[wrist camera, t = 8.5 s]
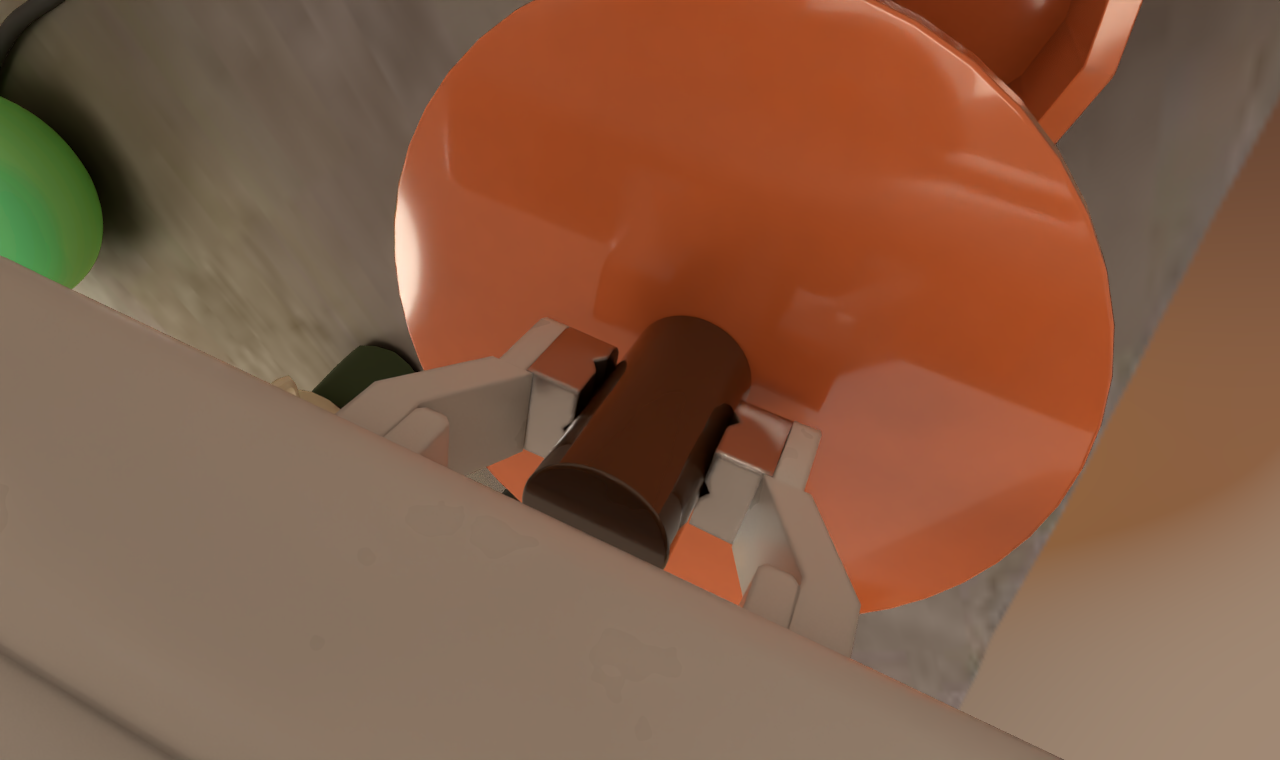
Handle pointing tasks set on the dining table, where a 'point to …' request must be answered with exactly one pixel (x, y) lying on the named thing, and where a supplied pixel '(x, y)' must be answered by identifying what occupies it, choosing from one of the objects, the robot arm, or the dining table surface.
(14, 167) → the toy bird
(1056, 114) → the pot
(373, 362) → the character mug
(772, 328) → the lid
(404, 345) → the dining table surface
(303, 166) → the dining table surface
